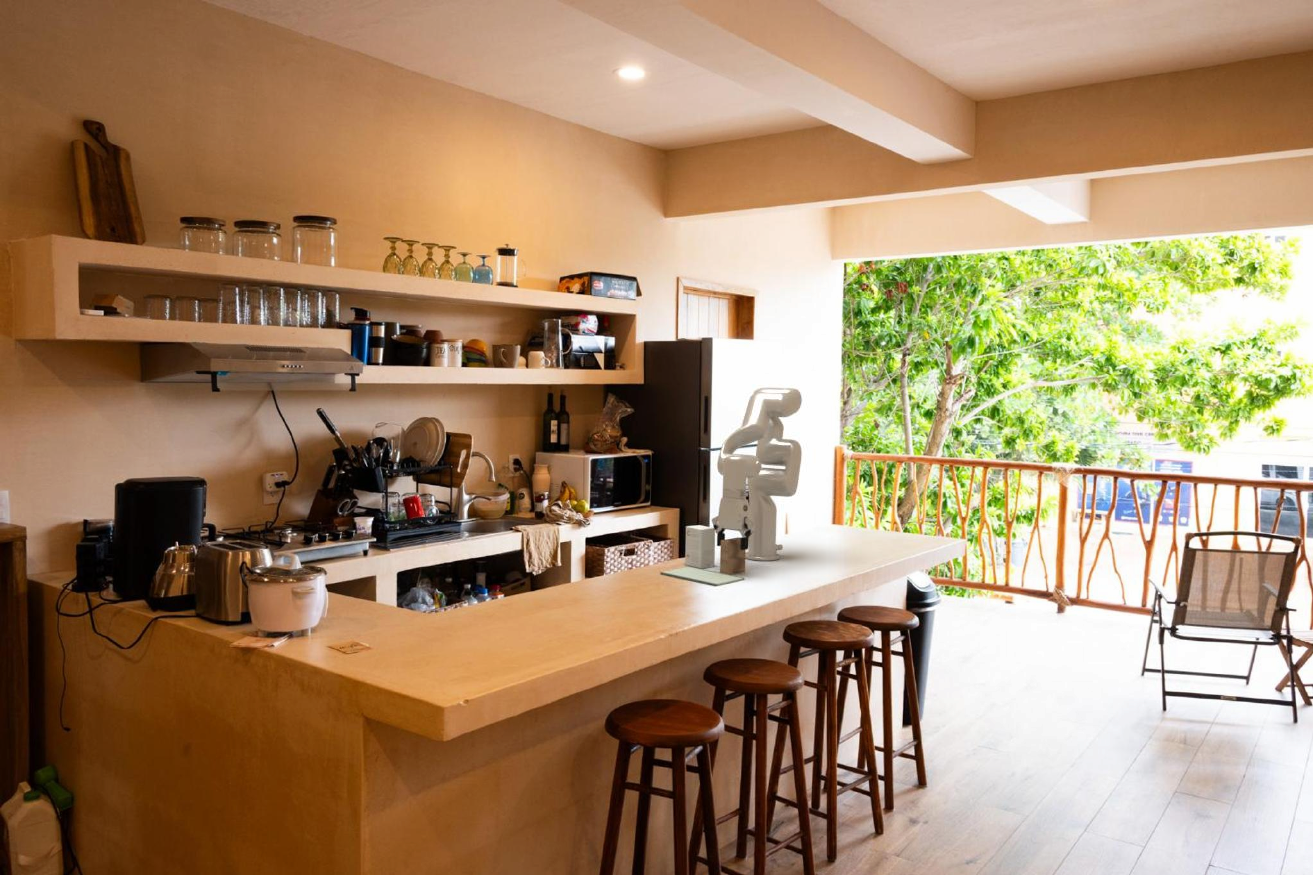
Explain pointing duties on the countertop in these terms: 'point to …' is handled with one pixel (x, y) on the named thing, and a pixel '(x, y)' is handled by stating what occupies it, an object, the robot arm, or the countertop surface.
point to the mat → (702, 576)
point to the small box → (700, 546)
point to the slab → (732, 557)
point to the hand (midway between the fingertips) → (732, 547)
